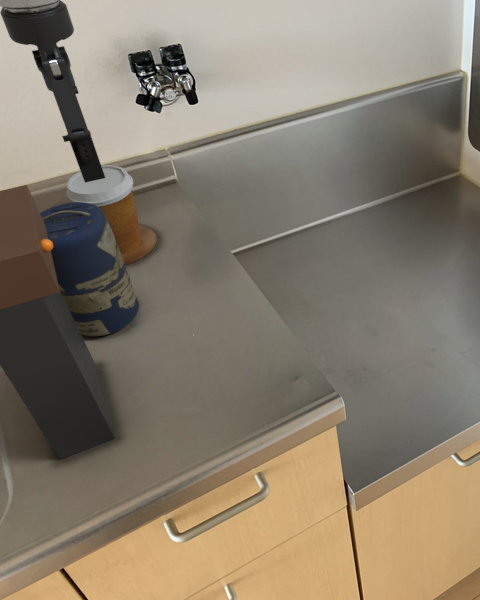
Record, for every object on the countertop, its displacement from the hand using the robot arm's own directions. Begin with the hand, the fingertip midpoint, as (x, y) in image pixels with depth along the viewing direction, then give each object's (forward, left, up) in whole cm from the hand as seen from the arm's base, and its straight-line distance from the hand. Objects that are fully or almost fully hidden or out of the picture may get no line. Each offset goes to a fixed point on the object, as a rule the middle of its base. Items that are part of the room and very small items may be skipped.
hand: (87, 158), depth 90 cm
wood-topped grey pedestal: (+21, -27, -16) cm, 38 cm away
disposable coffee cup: (0, 0, -16) cm, 16 cm away
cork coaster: (0, 0, -16) cm, 16 cm away
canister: (+11, -14, -16) cm, 24 cm away
